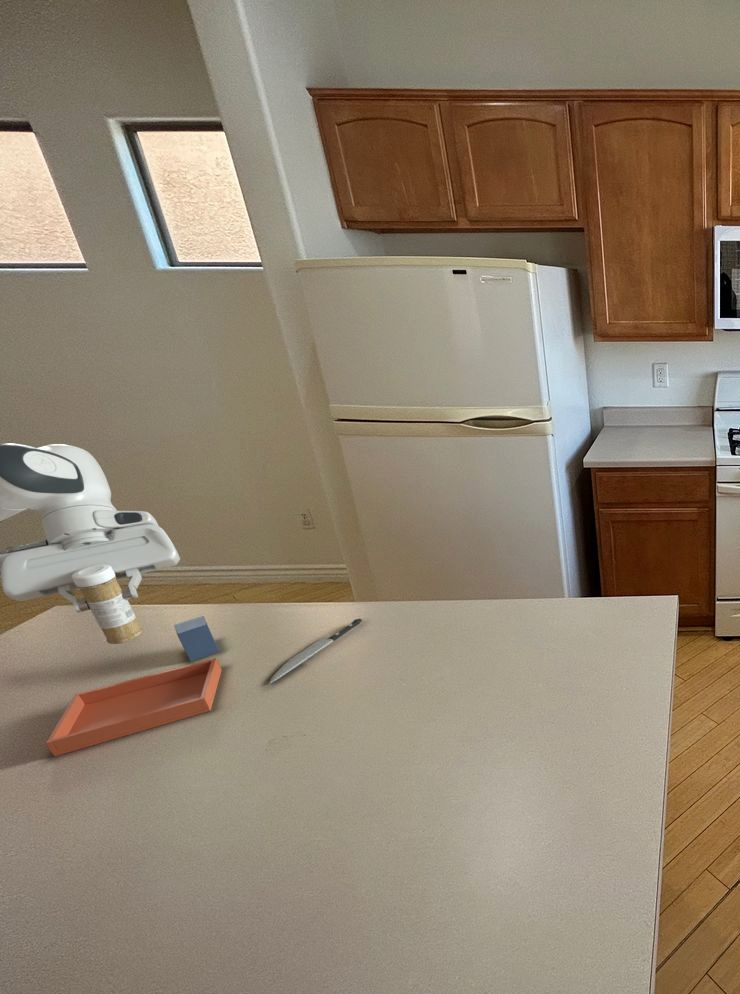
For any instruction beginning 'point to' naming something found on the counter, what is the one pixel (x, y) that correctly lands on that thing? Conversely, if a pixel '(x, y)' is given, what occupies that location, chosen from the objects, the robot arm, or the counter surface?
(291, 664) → the chef's knife
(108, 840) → the counter surface
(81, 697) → the tray
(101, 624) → the sprinkles bottle
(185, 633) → the blue block
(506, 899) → the counter surface
